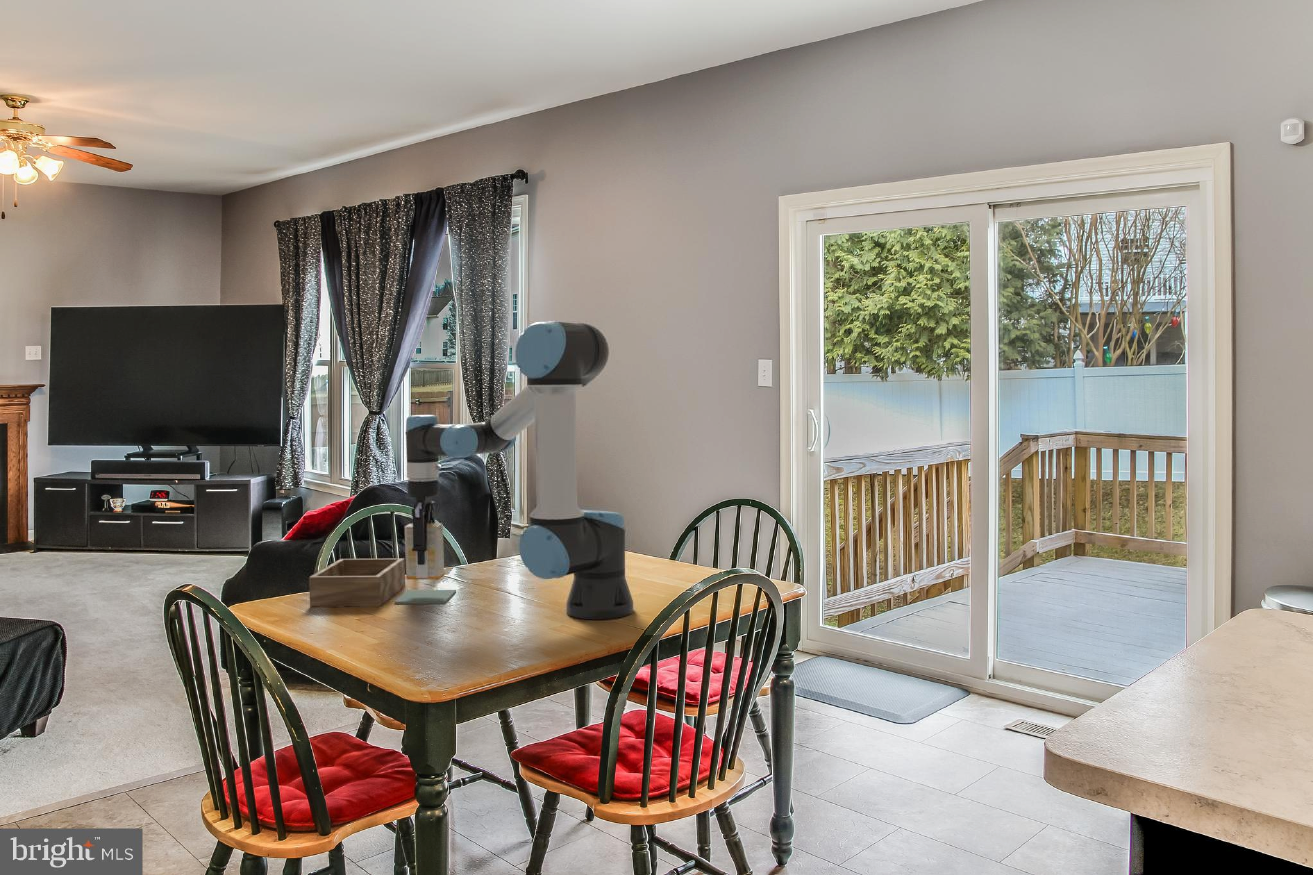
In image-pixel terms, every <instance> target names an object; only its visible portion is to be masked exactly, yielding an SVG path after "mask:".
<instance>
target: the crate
mask: <svg viewBox="0 0 1313 875" xmlns="http://www.w3.org/2000/svg"><path fill="white" fill-rule="evenodd" d="M308 582H309V583H308V585H309V586H308V587H309V591H308V592H309V607H310V606H329V608H330V606H332V607H331V608H335V607H334V606H354V607H355V606H357V607H358V606H359V607H360V608H361V607H366V608H367V607H381V606H382V605H384V604H385V603H386V602H387V601H389V600H390V599H391V598H392V597H393V596H394V595H395V594H397V593H398V592H399V591H400V590H402V589H403V588H404V587H405V586H406V557H404V558H403V557H402V558H394V557H393V558H390V557H389V558H340V559H338V560H336V561H335V562H333V563H331V564H329V565H328V566H326V567H324V568H322V569H320V570H319V571H317V572H315V573H313V574H312V575H310V576H309V577H308ZM359 607H358V608H359Z"/></svg>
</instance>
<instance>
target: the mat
mask: <svg viewBox="0 0 1313 875" xmlns="http://www.w3.org/2000/svg"><path fill="white" fill-rule="evenodd" d="M456 593H457V589H407V590H406V591H404V592H403V593H402V595H400V596H399V597H398V598H397V599H396V600H395V601H394V605H421V604H422V605H426V604H427V605H431V604H432V605H435V604H436V605H437V604H439V605H442V604H444V605H446V604H447V603H448V601H450V599H451V598H452V597H453V596H454V595H455V594H456Z"/></svg>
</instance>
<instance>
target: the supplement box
mask: <svg viewBox="0 0 1313 875" xmlns="http://www.w3.org/2000/svg"><path fill="white" fill-rule="evenodd" d="M443 526H444V525H443V523H441V522H440V523H439V522H437V523H436V522H435V523H428V524H427V550H428V578H416V551H412V548H413V522H412V523H409V524H407V525H405V526H404V547H405V548H404V549H405V550H404V552H405V555H404V556H405V579H406V580H407V581H409V580H430V581H431V580H441V579H442V578H443V577H445V556H444V555H445V554H444V529H443V528H444V527H443Z"/></svg>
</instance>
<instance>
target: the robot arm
mask: <svg viewBox="0 0 1313 875" xmlns="http://www.w3.org/2000/svg"><path fill="white" fill-rule="evenodd" d="M609 350H610V348H609V344H608V341H607V339H606V337H605V336H604V334H603V333H602V332H601V331H600V329H598V328H596V327H595V326H593V325H591V324H588V323H584V322H583V323H582V322H577V323H575V322H565V321H553V320H552V321H551V320H549V321H538V322H535V323H532V324H530V325H529V326H526V328H525V329H524V331H523V332H522V333H521V334H520V335H519V337H518V339H517V342H516V345H515V350H514V353H515V354H514V359H515V363H516V366H517V368H519V371H520V373H521V374H523V375H524V376H525V377H527V378H526V380H527V386H525V387H524V388H523V389H521V391H519V392H518V393H517V394H516V395H515V396H513V397H512V398H511V399H510V400H509V401H508V402H506V403H505V404H504V405H503V406H501V408H500V409H497V411H496V412H495V413H494V414H493V415H492V416H490V417H489V418H488V419H487V420H485V421H483V422H474V423H473V422H472V423H459V424H443V423H442V424H439V423H440V422H439V418H438V415H435V414H415V415H414V414H413V415H409V416H408V417H406V419H405V420H406V421H405V425H406V426H405V432H404V433H405V443H406V444H405V446H406V450H405V451H406V452H405V453H406V478H407V479H408V480H407V481H406V484H407V485H406V490H407V491H406V492H407V496H409V497H411V498H415V503H414V504H413V508H411V515H412V523H413V548H412V551H416V578H428V550H427V524H428V523H436V511H435V510H436V501H433V499H432V497H436V496H439V495H440V492H441V491H440V480H439V479H438V478H439V477H440V470H441V469H442V466H441V465H440V464H439V462H440V457H450V458H454V459H459V458H468V457H470V456H473V455H481V454H483V455H484V454H498V453H499V454H500V453H503V452H507V451H509V450H512V448H513V447H514V445H515V443H516V441H517V436H518V435H520V434H521V433H522V432H524V430H525V429H527V428H529V427H530V425H532V424H533V423H534V422H535V425H534V426H535V469H536V470H535V476H536V481H535V484H536V507H535V508H534V509H533V510H532V511H531V512H530V514H529V526H528V527H526V529H524V530H523V532H522V534H521V535H520V536H519V537H520V538H519V541H518V552H519V555H520V558H521V561H522V563H523V565H524V566H525V568H527V569H528V572H530V574H532V575H533V576H535V577H537V578H539V579H543V580H551V579H562V578H564V577H565V576H569V575H573V581H572V584H571V587H570V590H569V593H568V596H567V600H566V604H565V605H566V606H565V607H566V614H567V615H568V616H570V617H573V618H578V619H582V620H610V619H611V620H612V619H618V618H623V617H627V616H629V615H631V614H632V613H634V600H633V596H632V594H631V590H630V588H629V587H630V586H629V584H628V582H627V579H626V527H625V525H626V524H625V518H624V516H623V514H621V513H620V512H616V511H606V510H597V509H596V510H595V509H580V507H579V506H578V484H577V483H578V476H577V475H578V474H577V472H578V470H577V468H578V467H577V465H578V464H577V426H576V425H577V420H576V419H577V415H576V414H577V413H576V411H577V410H576V394H577V393H578V391H579V390H580V389H581V388H584V387H585V386H587V385H588V384H590V383H591V382H592V381H593V380H595V378H597V376H599V374H601V372H603V370H604V369H605V367H606V366H607V363H608V359H609V355H610V353H609Z"/></svg>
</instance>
